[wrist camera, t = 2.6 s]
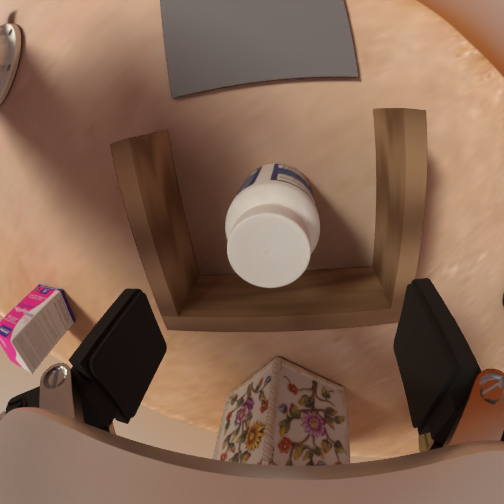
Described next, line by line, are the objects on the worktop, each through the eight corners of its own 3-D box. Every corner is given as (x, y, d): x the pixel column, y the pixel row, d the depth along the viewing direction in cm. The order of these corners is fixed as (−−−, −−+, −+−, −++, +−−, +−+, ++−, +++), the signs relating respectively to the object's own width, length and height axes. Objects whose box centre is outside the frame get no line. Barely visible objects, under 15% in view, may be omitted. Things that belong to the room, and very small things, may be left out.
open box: (151, 134, 20) (109, 144, 15) (391, 109, 17) (425, 110, 12) (188, 288, 27) (167, 329, 22) (385, 279, 24) (405, 321, 18)
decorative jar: (225, 391, 35) (197, 508, 19) (275, 352, 30) (257, 508, 14) (292, 418, 37) (283, 523, 21) (347, 386, 32) (355, 513, 16)
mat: (161, -2, 14) (159, -4, 14) (334, -28, 12) (334, -30, 11) (173, 98, 19) (171, 98, 18) (357, 77, 16) (358, 76, 16)
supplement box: (62, 287, 30) (11, 342, 20) (76, 321, 33) (34, 376, 23) (38, 282, 31) (-10, 330, 21) (52, 314, 34) (11, 363, 24)
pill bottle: (254, 232, 23) (233, 307, 15) (234, 171, 21) (195, 215, 12) (318, 218, 22) (334, 289, 13) (302, 154, 20) (313, 185, 11)
